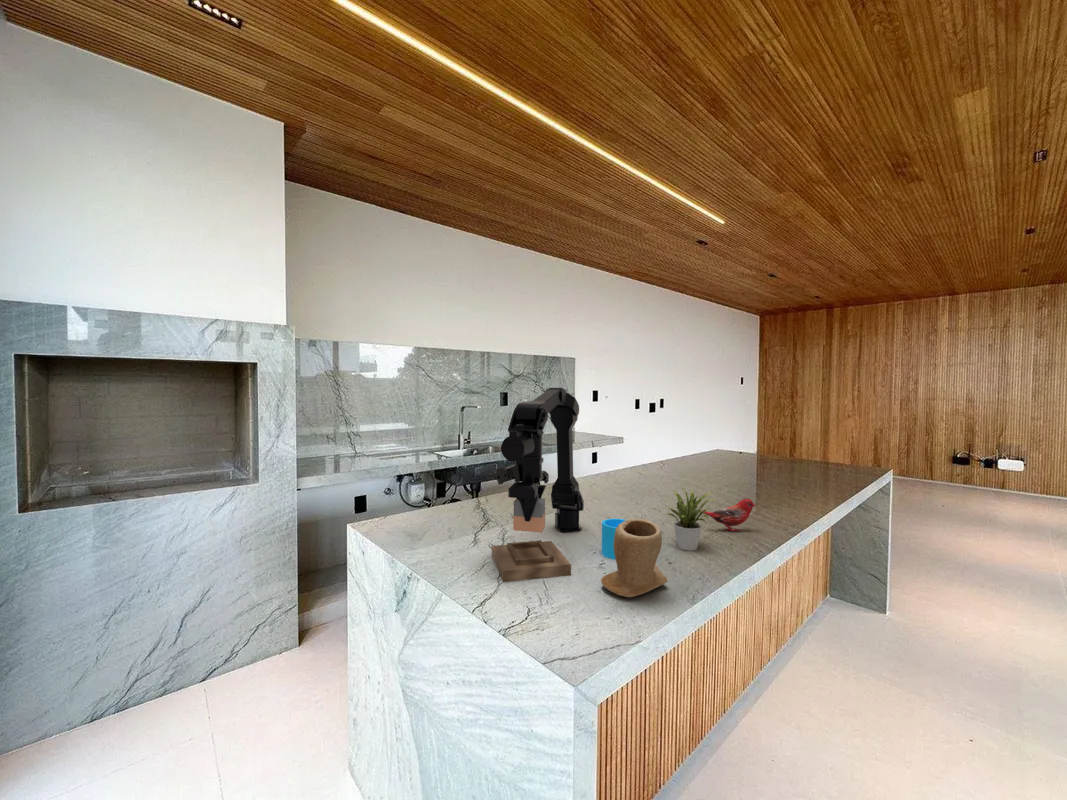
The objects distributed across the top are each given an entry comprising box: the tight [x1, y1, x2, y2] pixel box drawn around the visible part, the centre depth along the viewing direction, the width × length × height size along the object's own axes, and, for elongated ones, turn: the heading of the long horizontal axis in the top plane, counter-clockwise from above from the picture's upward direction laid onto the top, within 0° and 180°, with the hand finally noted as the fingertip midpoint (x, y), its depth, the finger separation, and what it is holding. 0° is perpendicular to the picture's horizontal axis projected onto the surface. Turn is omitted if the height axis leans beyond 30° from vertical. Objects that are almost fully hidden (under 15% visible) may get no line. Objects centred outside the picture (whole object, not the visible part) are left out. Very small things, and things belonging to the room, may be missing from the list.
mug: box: [601, 518, 627, 561], centre depth 122 cm, size 12×8×8 cm
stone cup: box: [600, 518, 669, 598], centre depth 101 cm, size 15×12×15 cm
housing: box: [512, 497, 546, 533], centre depth 113 cm, size 7×4×7 cm, turn 79°
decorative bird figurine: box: [699, 498, 756, 532], centre depth 140 cm, size 3×18×10 cm, turn 89°
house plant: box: [664, 487, 716, 552], centre depth 125 cm, size 14×14×16 cm
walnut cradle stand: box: [491, 540, 572, 583], centre depth 113 cm, size 16×16×4 cm
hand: (529, 518), depth 113 cm, fingers closed on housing, 4 cm apart
